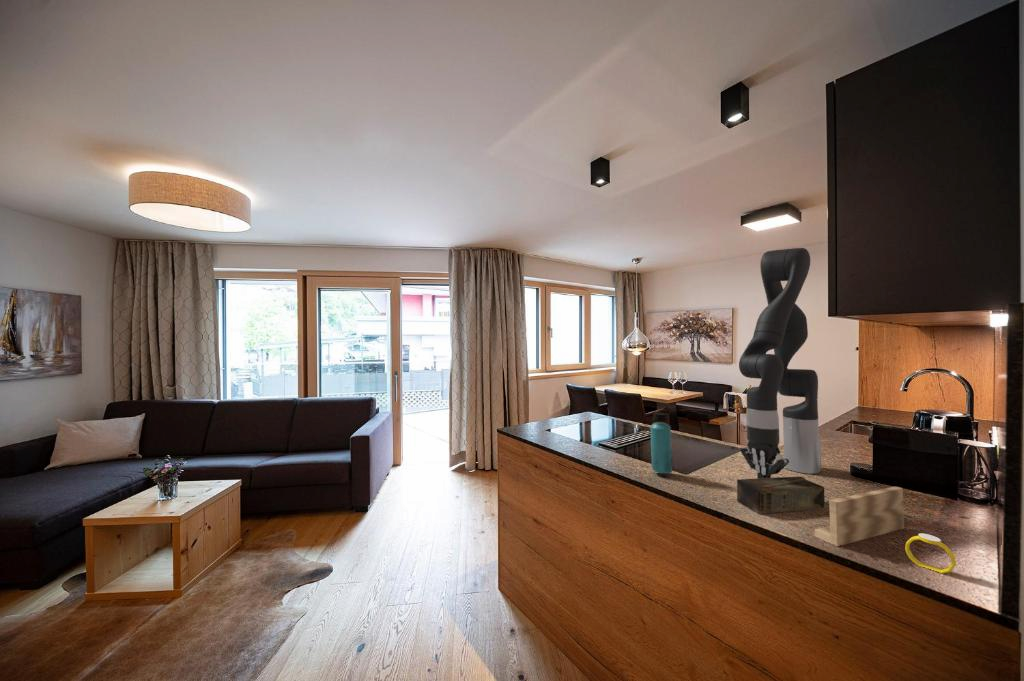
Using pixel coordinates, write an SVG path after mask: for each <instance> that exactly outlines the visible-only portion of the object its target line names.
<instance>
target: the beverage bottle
mask: <svg viewBox="0 0 1024 681" xmlns="http://www.w3.org/2000/svg"><path fill="white" fill-rule="evenodd" d="M652 420H653V421H656V422H653V423H652V424H651V425H650V426H649V427H650V458H651V460H650V461H651V463H650V464H651V469H652V471H653V472H655V473H660V474H670V473H672V472H673V468H674V467H673V460H674V459H673V446H672V431H671V430H672V427H671V426H670V425H669V424H668V423H665V421H667V420H668V418H667V413H664V412H654V413H653V417H652ZM658 421H659V422H658Z"/></svg>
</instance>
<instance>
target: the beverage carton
mask: <svg viewBox="0 0 1024 681" xmlns="http://www.w3.org/2000/svg"><path fill="white" fill-rule="evenodd" d="M825 500H826V499H825V487H824V486H823V485H821V484H818V483H816V482H813V481H811V480H808V479H806V478H805V477H803V476H781V477H780V476H778V477H771V478H758V477H757V478H741V479H736V501H737V502H738V503H740V504H742V505H743V506H744V507H747V508H748V509H749V510H751V511H753V512H755V513H756V514H758V515H760V514H763V515H764V514H773V513H786V512H787V513H788V512H798V511H801V512H802V511H810V510H811V511H812V510H818V509H825V503H826V502H825Z"/></svg>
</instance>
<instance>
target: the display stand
mask: <svg viewBox="0 0 1024 681" xmlns="http://www.w3.org/2000/svg"><path fill="white" fill-rule="evenodd" d="M903 491H904V488H903V487H900V486H891V487H886V488H881V489H877V490H872V491H867V492H863V493H859V494H858V493H857V494H853V495H848V496H844V497H839V498H834V499H829V500H828V501H829V502H828V507H829V508H828V509H829V525H828V526H827V525H826V526H823V527H820V528H815V529H814V537H816V538H818V539H820V540H822V541H825V542H827V543H828V542H829V544H831V545H833V544H834V545H833V546H835V545H836V546H835V547H840V545H841V546H845V545H848V544H852V543H856V542H860V541H863V540H867V539H870V538H874V537H877V536H882V535H886V534H889V533H892V532H895V531H901V530H904V529H905V518H904V517H905V515H904V514H905V513H904V492H903Z"/></svg>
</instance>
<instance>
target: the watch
mask: <svg viewBox="0 0 1024 681" xmlns="http://www.w3.org/2000/svg"><path fill="white" fill-rule="evenodd" d="M914 541H922V542H924V543H927V544H929V545H934V546H938V547H940V548H942V549H943V550H944V552H946V553H947V555H948V556H949V558H950V562H951V564H950V565H949V567H944V568H939V567H935V566H932V565H930V564H926V563H923V562H921V561H919V560H918V558H916V557H915V556H914V554H913V553H912V551H911V549H910V546H911V545H910V544H911V543H912V542H914ZM904 550H905V552H906V555H907V557H908V558H909V560H910V561H912V563H914V564H915V565H916V566H917V565H918V566H917V567H920V566H921V567H920V568H923V567H925V568H924V569H926V568H929V569H931V570H930V571H932V570H934V571H933V572H935V571H937V572H936V573H938V572H939V573H938V574H940V573H942V574H941V575H943V574H949V573H951V572H952V571H953V569H954V568H955V566H956V564H957V561H956V557H955V553H953V551H952V550H951V549H950V548H949V547H948V545H946V544H945V543H943V542H942V540H941V538H939V537H937V536H936V535H935V536H934V535H931V534H928V533H921V532H919V533H918V535H915V536H914V535H913V536H912V537H910V538H909V539H908V540H907V541H906V542H905V547H904ZM929 569H928V570H929Z"/></svg>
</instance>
